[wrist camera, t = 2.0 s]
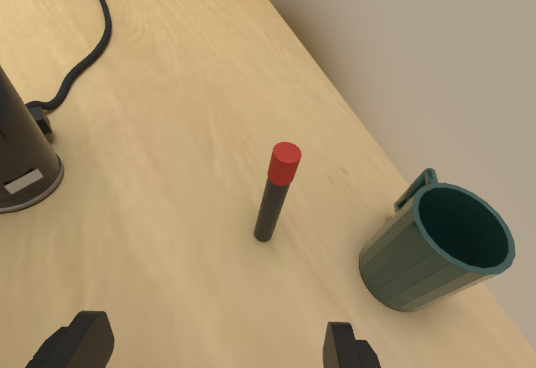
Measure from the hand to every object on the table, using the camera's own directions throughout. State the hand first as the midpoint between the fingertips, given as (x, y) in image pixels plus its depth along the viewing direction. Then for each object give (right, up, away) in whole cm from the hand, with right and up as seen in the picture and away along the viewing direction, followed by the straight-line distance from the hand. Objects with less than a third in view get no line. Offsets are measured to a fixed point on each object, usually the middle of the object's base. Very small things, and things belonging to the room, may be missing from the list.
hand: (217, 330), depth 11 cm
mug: (+17, -3, +24) cm, 30 cm away
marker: (+1, 0, +23) cm, 23 cm away
